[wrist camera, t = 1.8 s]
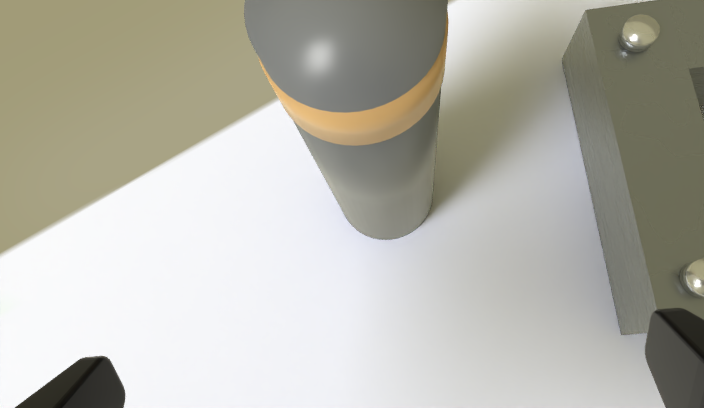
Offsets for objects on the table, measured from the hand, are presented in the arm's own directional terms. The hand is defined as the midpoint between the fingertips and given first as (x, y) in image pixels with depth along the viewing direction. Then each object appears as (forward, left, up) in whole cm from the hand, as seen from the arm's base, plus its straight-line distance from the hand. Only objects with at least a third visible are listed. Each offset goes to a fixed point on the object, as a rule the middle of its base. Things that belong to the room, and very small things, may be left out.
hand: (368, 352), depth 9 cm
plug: (+4, -5, -13) cm, 14 cm away
